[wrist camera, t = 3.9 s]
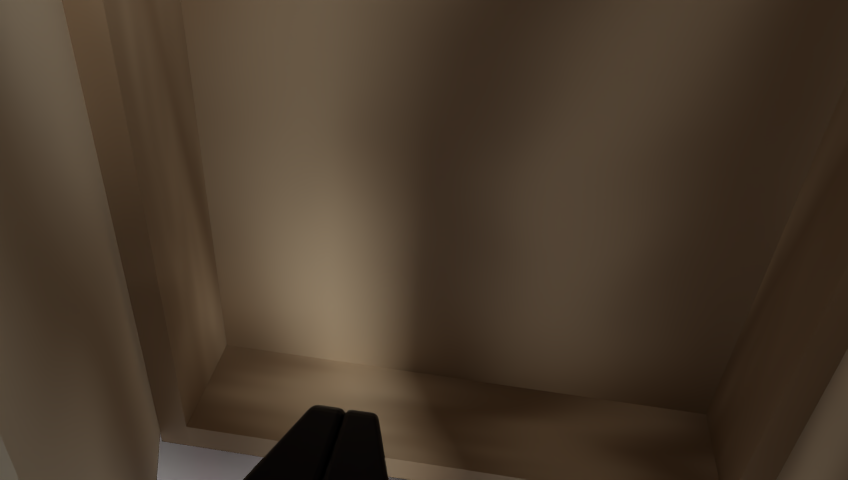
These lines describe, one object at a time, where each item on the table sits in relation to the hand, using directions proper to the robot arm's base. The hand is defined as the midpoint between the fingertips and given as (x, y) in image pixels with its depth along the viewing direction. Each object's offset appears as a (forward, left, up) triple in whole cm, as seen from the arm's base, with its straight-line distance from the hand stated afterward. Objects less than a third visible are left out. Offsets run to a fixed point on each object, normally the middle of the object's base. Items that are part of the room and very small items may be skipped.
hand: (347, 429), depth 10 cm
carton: (-1, 0, -11) cm, 11 cm away
